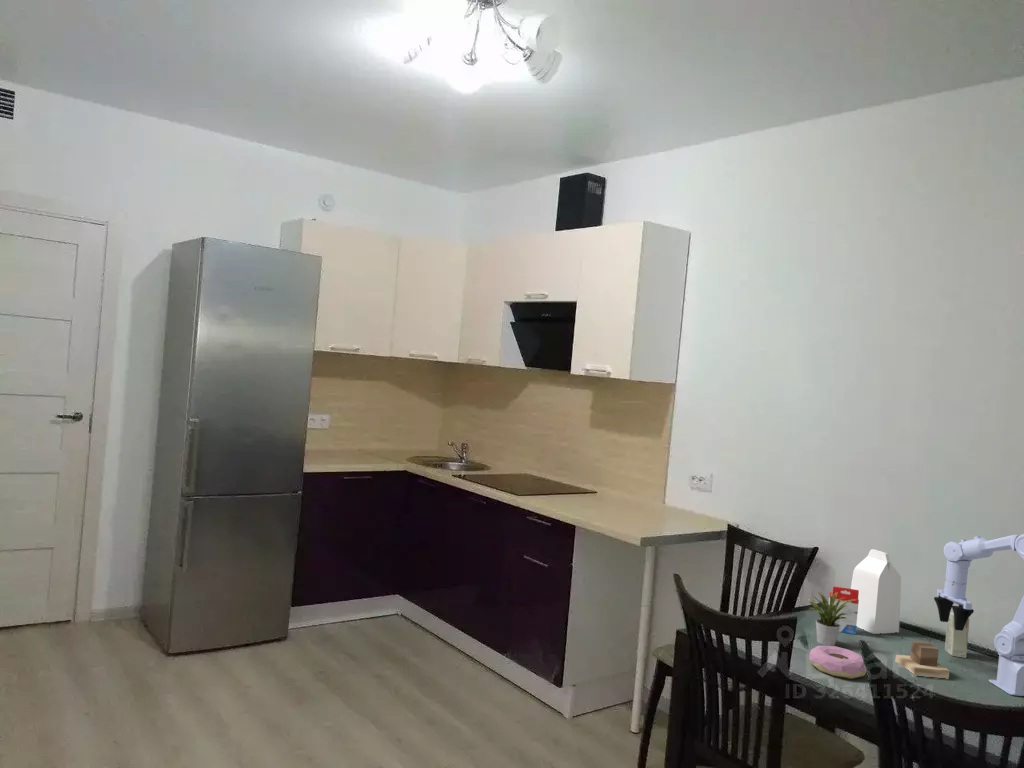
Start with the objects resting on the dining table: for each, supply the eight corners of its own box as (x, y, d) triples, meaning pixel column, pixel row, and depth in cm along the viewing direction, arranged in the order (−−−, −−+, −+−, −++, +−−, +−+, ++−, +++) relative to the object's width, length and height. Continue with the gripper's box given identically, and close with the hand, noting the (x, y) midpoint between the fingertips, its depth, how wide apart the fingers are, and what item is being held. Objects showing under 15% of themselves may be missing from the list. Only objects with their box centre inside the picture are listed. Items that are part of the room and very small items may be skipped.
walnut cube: (936, 666, 217) (938, 648, 217) (919, 664, 217) (921, 647, 217) (927, 659, 222) (928, 642, 222) (910, 658, 222) (911, 641, 222)
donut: (877, 675, 212) (879, 658, 212) (849, 685, 203) (851, 667, 203) (825, 656, 224) (827, 639, 224) (797, 664, 215) (798, 647, 215)
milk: (845, 621, 261) (852, 546, 261) (869, 620, 266) (877, 546, 266) (873, 633, 250) (881, 556, 250) (898, 632, 255) (906, 555, 254)
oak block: (948, 681, 214) (949, 670, 214) (913, 678, 214) (914, 667, 214) (928, 667, 224) (929, 657, 224) (894, 664, 224) (895, 654, 224)
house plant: (843, 637, 243) (849, 587, 243) (861, 653, 229) (867, 599, 229) (798, 632, 244) (803, 582, 244) (813, 648, 230) (819, 594, 230)
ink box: (853, 630, 252) (857, 586, 252) (855, 635, 247) (860, 590, 247) (825, 625, 254) (830, 582, 254) (827, 630, 250) (832, 586, 249)
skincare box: (966, 658, 234) (970, 619, 234) (951, 656, 235) (955, 617, 235) (958, 651, 240) (962, 613, 240) (943, 649, 241) (947, 611, 241)
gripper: (929, 574, 238) (924, 616, 238) (957, 587, 224) (952, 632, 224) (951, 576, 238) (946, 618, 239) (980, 589, 224) (976, 634, 224)
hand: (951, 625), depth 231 cm, fingers open, 7 cm apart
